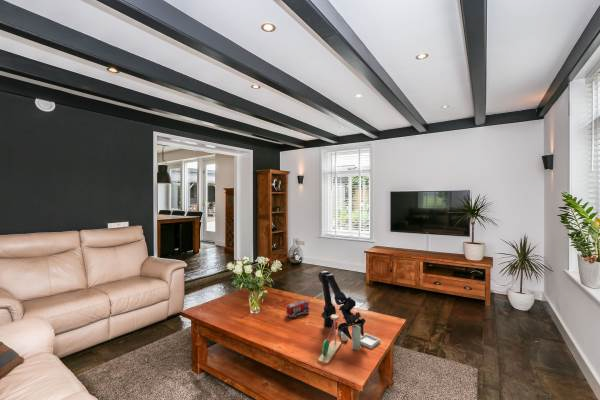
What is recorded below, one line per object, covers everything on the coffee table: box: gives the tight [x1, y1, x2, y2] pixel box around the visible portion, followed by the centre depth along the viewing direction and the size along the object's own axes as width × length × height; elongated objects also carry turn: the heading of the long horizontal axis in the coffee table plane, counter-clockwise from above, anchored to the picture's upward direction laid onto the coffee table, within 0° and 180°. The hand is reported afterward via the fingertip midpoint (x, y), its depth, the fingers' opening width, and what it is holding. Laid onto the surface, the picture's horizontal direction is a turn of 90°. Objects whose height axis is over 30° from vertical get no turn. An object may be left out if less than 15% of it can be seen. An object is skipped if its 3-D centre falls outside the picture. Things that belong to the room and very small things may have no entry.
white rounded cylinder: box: [340, 332, 349, 342], centre depth 190 cm, size 4×4×4 cm
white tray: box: [361, 332, 381, 349], centre depth 186 cm, size 11×11×2 cm
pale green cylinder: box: [351, 325, 362, 351], centre depth 179 cm, size 5×5×13 cm
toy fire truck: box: [285, 298, 311, 319], centre depth 229 cm, size 9×19×10 cm, turn 123°
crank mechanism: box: [317, 314, 342, 366], centre depth 174 cm, size 25×7×19 cm, turn 153°
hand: (357, 337), depth 178 cm, fingers open, 9 cm apart
